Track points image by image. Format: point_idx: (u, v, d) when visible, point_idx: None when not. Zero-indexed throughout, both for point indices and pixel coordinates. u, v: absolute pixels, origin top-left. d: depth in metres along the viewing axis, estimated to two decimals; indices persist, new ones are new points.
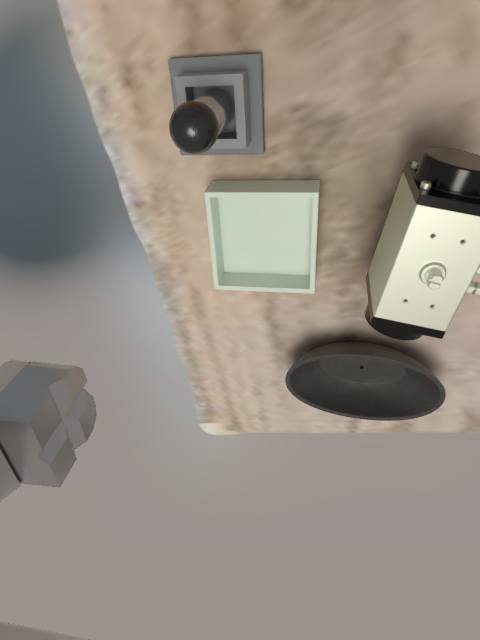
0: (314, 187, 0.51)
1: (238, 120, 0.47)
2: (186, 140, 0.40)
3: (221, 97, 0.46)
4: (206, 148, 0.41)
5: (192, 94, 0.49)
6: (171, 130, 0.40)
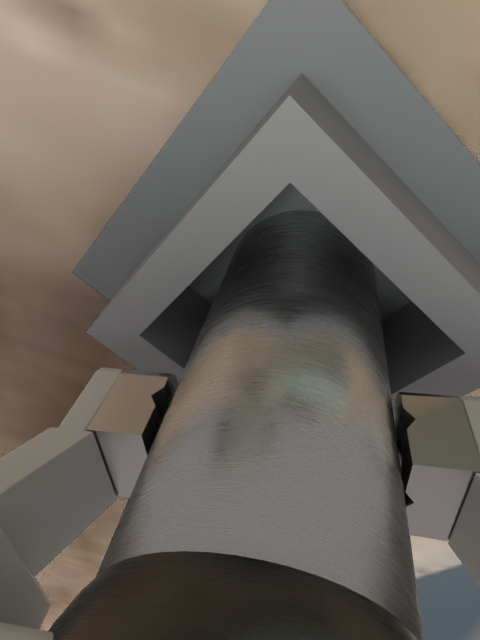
0: None
1: (217, 239, 0.09)
2: None
3: None
4: None
5: None
6: None
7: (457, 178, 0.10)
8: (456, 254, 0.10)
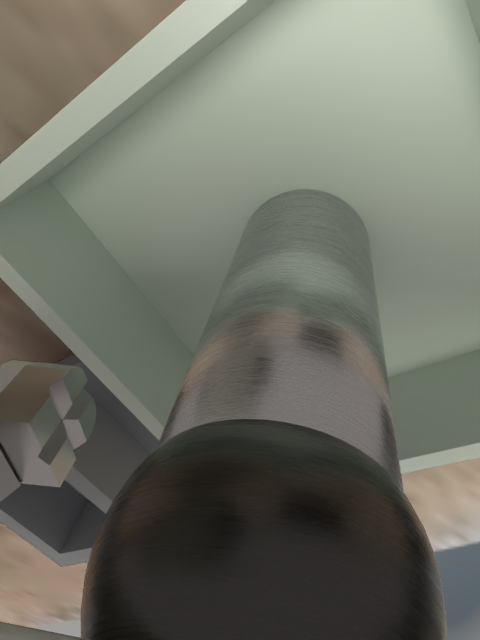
0: None
1: None
2: None
3: None
4: (259, 599, 0.04)
5: None
6: None
7: None
8: None
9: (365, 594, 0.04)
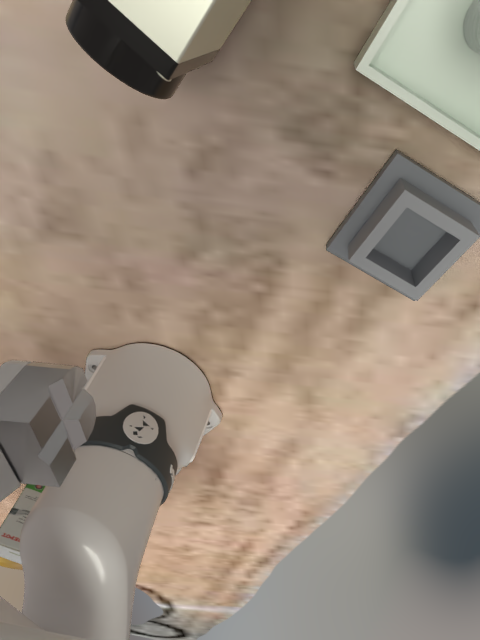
0: None
1: (389, 224, 0.36)
2: None
3: (476, 44, 0.28)
4: None
5: (420, 263, 0.40)
6: None
7: (449, 194, 0.36)
8: (452, 215, 0.35)
9: None
